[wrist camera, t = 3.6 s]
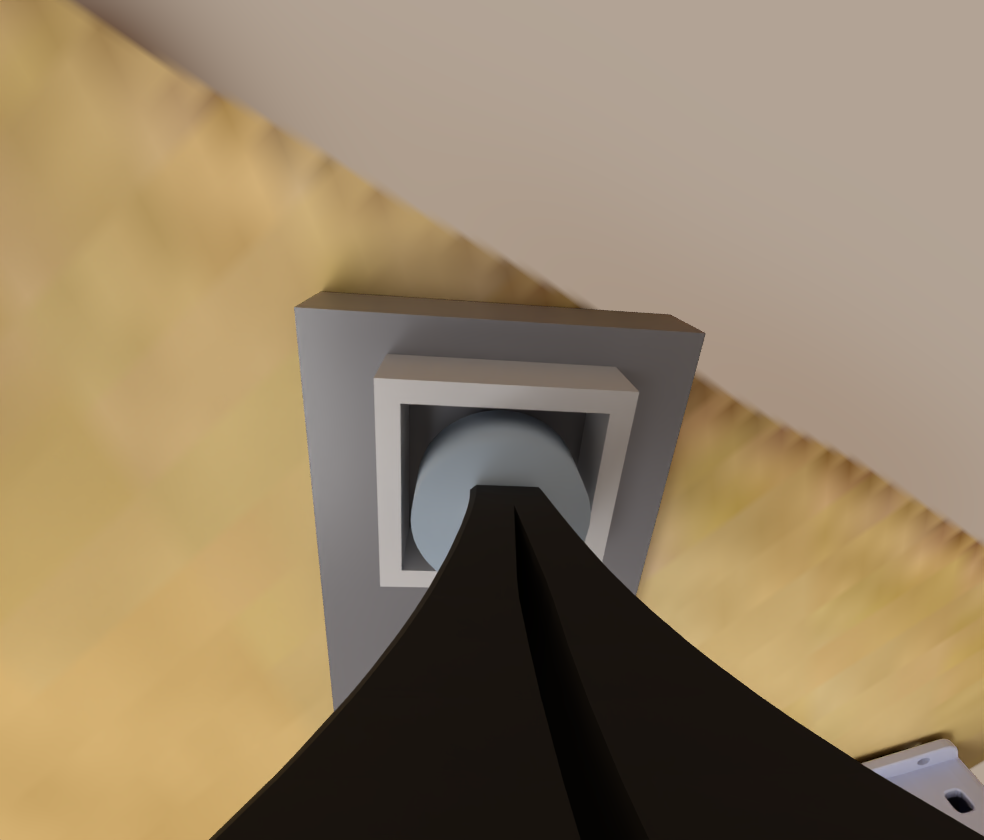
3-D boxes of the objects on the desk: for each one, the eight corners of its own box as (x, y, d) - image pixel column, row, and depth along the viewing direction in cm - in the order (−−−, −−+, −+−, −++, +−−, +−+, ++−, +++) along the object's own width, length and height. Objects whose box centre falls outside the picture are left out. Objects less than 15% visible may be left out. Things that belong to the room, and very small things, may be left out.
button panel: (320, 291, 12) (264, 325, 8) (670, 314, 12) (743, 353, 9) (362, 858, 23) (345, 968, 19) (545, 854, 23) (558, 959, 20)
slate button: (418, 406, 10) (411, 438, 8) (586, 413, 10) (605, 446, 9) (417, 543, 11) (410, 589, 10) (563, 546, 12) (576, 592, 10)
